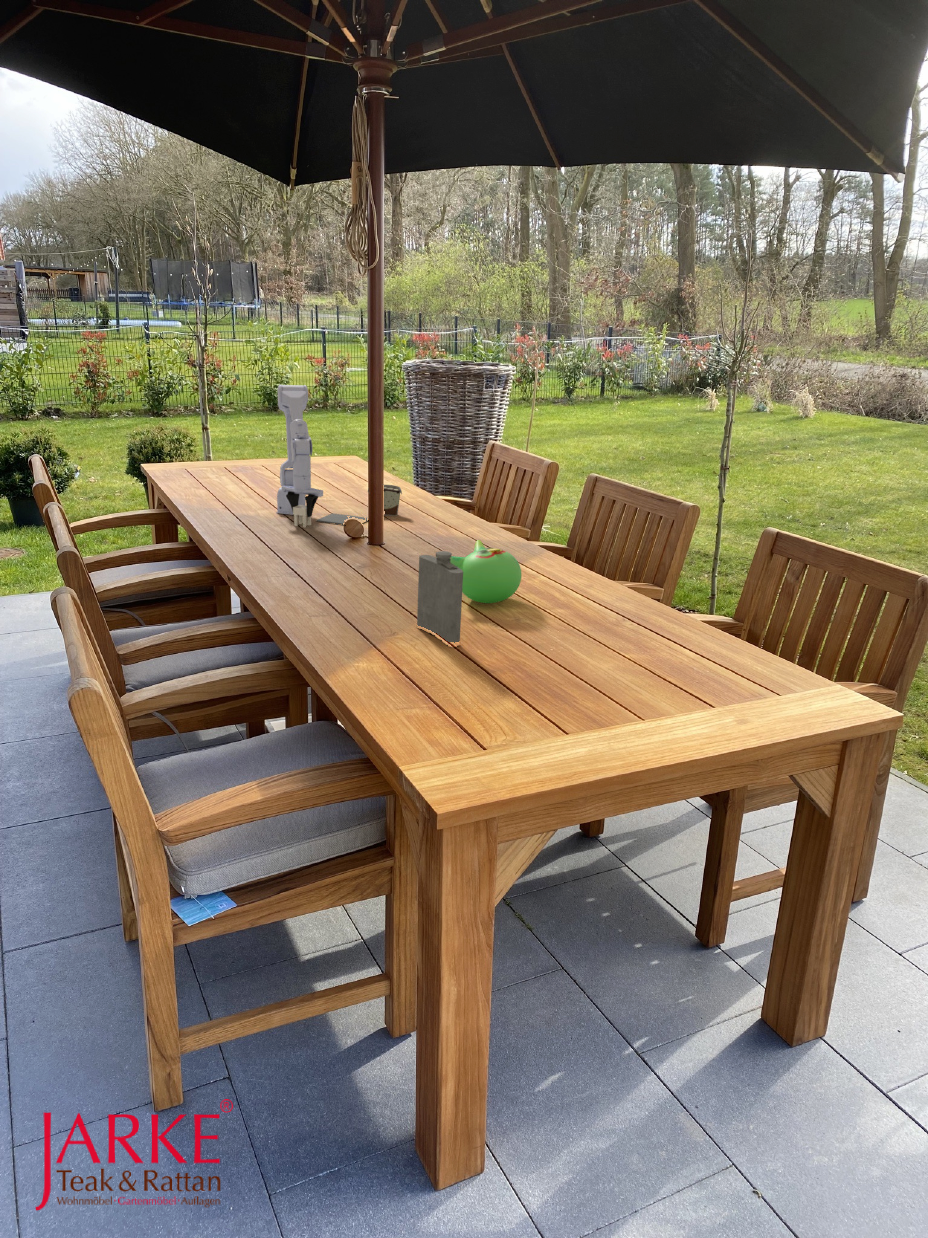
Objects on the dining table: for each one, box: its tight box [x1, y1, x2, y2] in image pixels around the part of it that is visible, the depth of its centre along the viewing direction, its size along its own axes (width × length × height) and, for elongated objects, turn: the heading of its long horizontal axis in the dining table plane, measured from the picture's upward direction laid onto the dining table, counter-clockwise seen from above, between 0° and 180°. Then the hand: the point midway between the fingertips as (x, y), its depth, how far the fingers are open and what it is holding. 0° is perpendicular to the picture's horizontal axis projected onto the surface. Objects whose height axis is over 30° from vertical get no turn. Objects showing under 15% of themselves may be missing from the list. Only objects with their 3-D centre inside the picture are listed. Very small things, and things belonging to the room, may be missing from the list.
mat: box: [315, 512, 368, 526], centre depth 310 cm, size 15×12×1 cm
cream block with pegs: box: [293, 505, 312, 528], centre depth 300 cm, size 5×5×6 cm
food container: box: [367, 484, 403, 517], centre depth 322 cm, size 12×6×10 cm, turn 84°
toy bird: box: [450, 539, 522, 604], centre depth 231 cm, size 18×17×15 cm
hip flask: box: [416, 550, 463, 643], centre depth 204 cm, size 16×4×20 cm, turn 33°
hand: (302, 515), depth 300 cm, fingers closed on cream block with pegs, 5 cm apart
